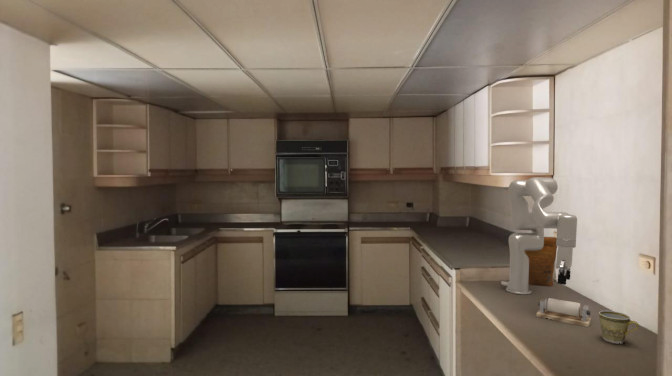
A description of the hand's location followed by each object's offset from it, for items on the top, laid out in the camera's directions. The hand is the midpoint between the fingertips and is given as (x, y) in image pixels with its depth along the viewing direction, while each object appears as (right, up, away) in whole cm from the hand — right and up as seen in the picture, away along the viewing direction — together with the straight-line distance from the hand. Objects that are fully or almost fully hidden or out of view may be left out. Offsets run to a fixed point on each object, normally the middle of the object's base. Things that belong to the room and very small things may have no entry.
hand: (563, 281), depth 187 cm
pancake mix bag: (+16, -15, +57) cm, 61 cm away
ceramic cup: (+7, -18, -25) cm, 31 cm away
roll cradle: (0, -16, 0) cm, 16 cm away
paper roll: (0, -14, 0) cm, 14 cm away
